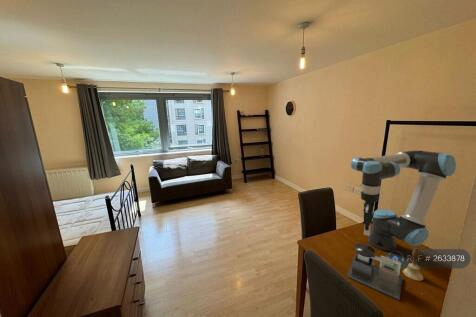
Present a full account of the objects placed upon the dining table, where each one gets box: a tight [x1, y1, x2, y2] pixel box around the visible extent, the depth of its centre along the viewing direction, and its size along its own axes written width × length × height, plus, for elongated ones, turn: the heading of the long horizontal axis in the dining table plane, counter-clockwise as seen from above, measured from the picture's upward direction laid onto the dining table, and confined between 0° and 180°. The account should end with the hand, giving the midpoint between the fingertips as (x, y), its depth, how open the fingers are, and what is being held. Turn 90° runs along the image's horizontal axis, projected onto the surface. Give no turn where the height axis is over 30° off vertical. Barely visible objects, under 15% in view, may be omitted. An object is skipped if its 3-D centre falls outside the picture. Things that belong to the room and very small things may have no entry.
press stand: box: [346, 251, 403, 301], centre depth 103 cm, size 16×22×14 cm
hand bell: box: [402, 246, 424, 282], centre depth 104 cm, size 8×8×16 cm
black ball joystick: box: [354, 243, 394, 266], centre depth 103 cm, size 9×17×9 cm, turn 47°
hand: (366, 234), depth 104 cm, fingers closed
